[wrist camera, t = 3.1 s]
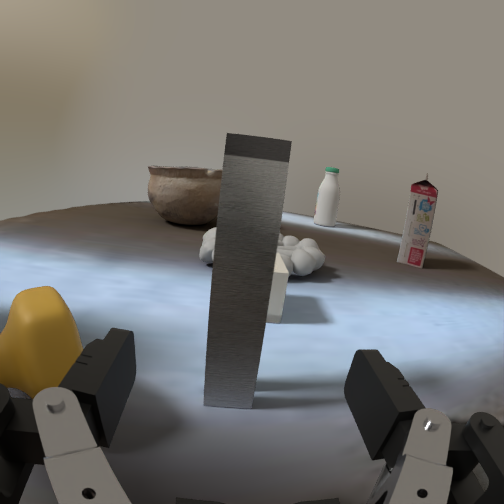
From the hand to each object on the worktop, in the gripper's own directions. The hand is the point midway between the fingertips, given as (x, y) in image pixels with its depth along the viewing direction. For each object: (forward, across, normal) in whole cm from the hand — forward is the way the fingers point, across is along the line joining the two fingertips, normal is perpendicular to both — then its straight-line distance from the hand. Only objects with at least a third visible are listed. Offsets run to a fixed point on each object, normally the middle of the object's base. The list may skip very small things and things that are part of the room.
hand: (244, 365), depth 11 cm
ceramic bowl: (+74, +13, +10) cm, 76 cm away
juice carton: (+57, -44, +10) cm, 72 cm away
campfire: (+44, -5, +11) cm, 46 cm away
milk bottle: (+96, -31, +10) cm, 102 cm away
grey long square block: (+10, 0, +10) cm, 14 cm away
